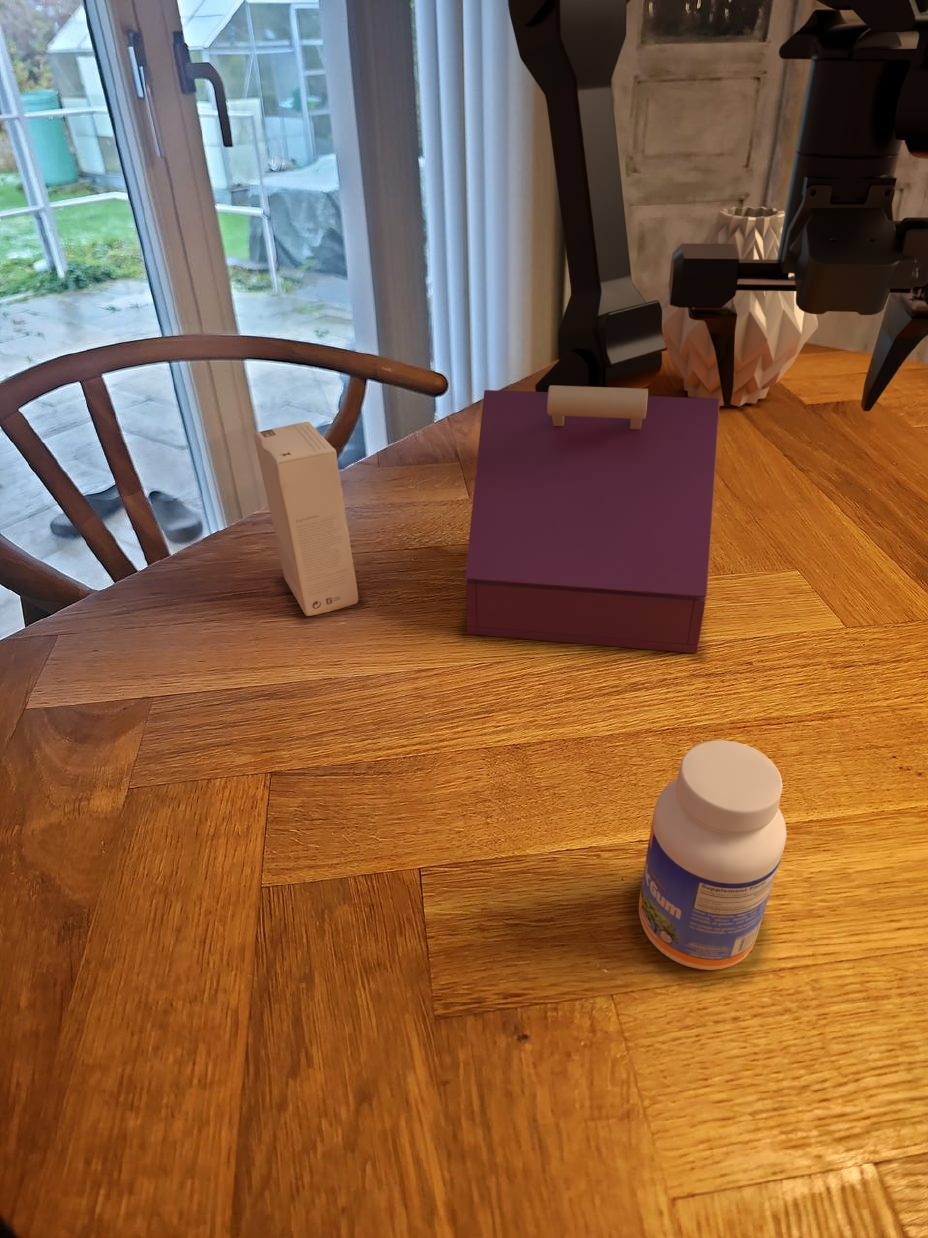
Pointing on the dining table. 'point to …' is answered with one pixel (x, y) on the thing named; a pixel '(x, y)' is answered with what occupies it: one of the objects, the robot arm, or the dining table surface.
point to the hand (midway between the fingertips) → (794, 406)
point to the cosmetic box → (308, 516)
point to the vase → (741, 318)
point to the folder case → (584, 616)
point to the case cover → (594, 490)
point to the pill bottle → (713, 855)
